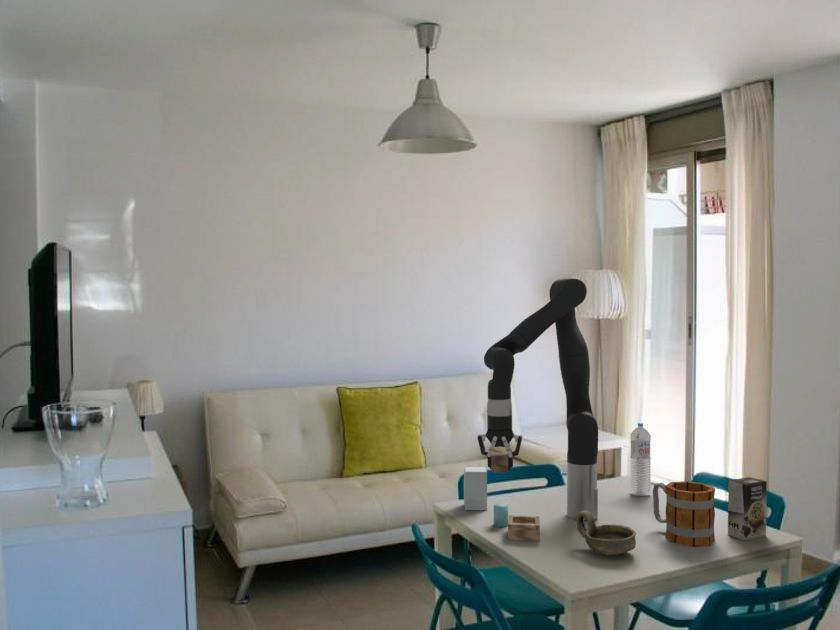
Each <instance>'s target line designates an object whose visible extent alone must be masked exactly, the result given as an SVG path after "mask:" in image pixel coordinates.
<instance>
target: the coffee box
mask: <svg viewBox="0 0 840 630" xmlns="http://www.w3.org/2000/svg"><path fill="white" fill-rule="evenodd" d="M767 484H768V481H767V480H763V479H760V478H753V477H750V476H749V477H741V478H736V479H735V478H734V479H729V480H728V495H727V497H728V499H727V500H728V503H727V535H728V536H731V537H734V538H737V539H740V540H741V541H748V540H753V539H758V538H762V537H767V499H768V498H767V497H768V494H767V493H768V492H767V491H768V490H767V488H768V485H767Z"/></svg>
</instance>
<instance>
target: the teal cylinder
mask: <svg viewBox="0 0 840 630" xmlns="http://www.w3.org/2000/svg"><path fill="white" fill-rule="evenodd" d="M508 518H509V504H507V503H494V504H493V526H494V527H497V528H508Z"/></svg>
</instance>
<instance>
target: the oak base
mask: <svg viewBox="0 0 840 630" xmlns="http://www.w3.org/2000/svg"><path fill="white" fill-rule="evenodd" d="M540 523H541V522H540V516H537V515H536V516H535V515H515V514H514V515H513V514H511V515H510V514H508V526H507V540H508V541H528V542H529V541H530V542H531V541H532V542H533V541H534V542H535V541H536V542H540V541H541V525H540Z"/></svg>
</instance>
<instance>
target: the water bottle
mask: <svg viewBox="0 0 840 630" xmlns="http://www.w3.org/2000/svg"><path fill="white" fill-rule="evenodd" d="M651 437H652V436H651V433H650V432H649V431H648V430H647V429H646V428H645V427H644V423H643V422H637V427H636V428H635V429H633V430H632V431H631V432H630V457H629V458H630V459H629V461H630V465H629V466H630V468H629V470H630V471H629V472H630V474H629V477H630V478H629V485H630V486H629V492H630V494H631V495H632V496H635V497H649V496H651V487H652V486H651V484H652V483H651V478H652V477H651V473H652V472H651V470H652V469H651V468H652V467H651V466H652V465H651V459H652V458H651V440H652V438H651Z"/></svg>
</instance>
